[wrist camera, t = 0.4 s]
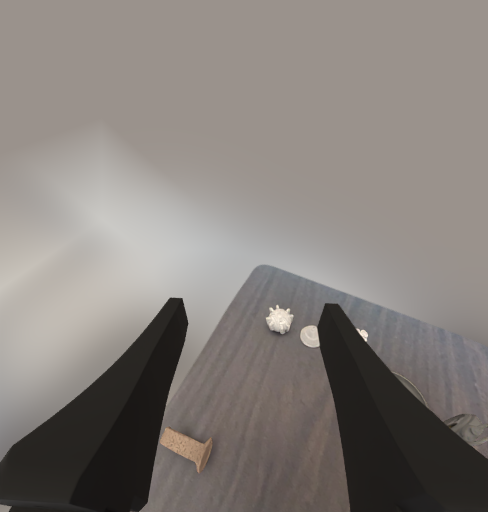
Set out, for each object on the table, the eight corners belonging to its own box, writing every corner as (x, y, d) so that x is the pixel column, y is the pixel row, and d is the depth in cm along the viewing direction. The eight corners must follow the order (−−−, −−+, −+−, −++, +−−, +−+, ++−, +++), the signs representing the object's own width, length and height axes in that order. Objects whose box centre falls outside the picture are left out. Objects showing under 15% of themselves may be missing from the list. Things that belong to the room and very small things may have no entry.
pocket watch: (364, 361, 28) (393, 322, 20) (450, 403, 24) (523, 374, 17) (343, 433, 23) (371, 416, 16) (444, 498, 20) (539, 515, 12)
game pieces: (361, 341, 29) (368, 330, 27) (358, 367, 27) (365, 357, 25) (272, 312, 34) (271, 300, 31) (264, 332, 32) (262, 321, 29)
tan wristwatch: (206, 473, 23) (192, 473, 19) (166, 451, 24) (146, 447, 21) (218, 440, 24) (206, 435, 21) (180, 422, 26) (163, 414, 22)
